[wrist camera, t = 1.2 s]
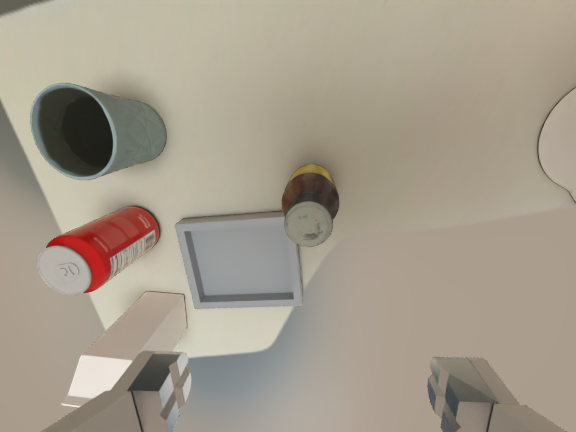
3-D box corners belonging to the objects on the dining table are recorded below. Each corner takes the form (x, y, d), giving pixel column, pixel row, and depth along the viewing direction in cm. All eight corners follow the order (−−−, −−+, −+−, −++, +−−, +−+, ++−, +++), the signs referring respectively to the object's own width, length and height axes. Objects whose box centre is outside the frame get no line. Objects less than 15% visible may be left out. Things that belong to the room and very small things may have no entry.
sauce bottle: (324, 209, 43) (328, 276, 24) (285, 196, 43) (259, 252, 24) (339, 168, 41) (358, 207, 22) (299, 154, 41) (283, 181, 22)
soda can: (169, 244, 48) (106, 295, 34) (128, 252, 49) (50, 305, 35) (151, 199, 46) (76, 235, 31) (109, 209, 47) (18, 247, 33)
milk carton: (146, 290, 51) (53, 381, 33) (184, 293, 51) (111, 388, 33) (151, 323, 53) (66, 425, 35) (187, 327, 53) (120, 432, 35)
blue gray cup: (148, 178, 44) (90, 197, 33) (93, 134, 43) (14, 138, 32) (183, 126, 41) (133, 128, 30) (125, 77, 40) (50, 60, 29)
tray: (294, 210, 44) (292, 216, 41) (303, 294, 48) (302, 305, 45) (183, 218, 46) (174, 224, 43) (201, 298, 50) (194, 308, 48)
